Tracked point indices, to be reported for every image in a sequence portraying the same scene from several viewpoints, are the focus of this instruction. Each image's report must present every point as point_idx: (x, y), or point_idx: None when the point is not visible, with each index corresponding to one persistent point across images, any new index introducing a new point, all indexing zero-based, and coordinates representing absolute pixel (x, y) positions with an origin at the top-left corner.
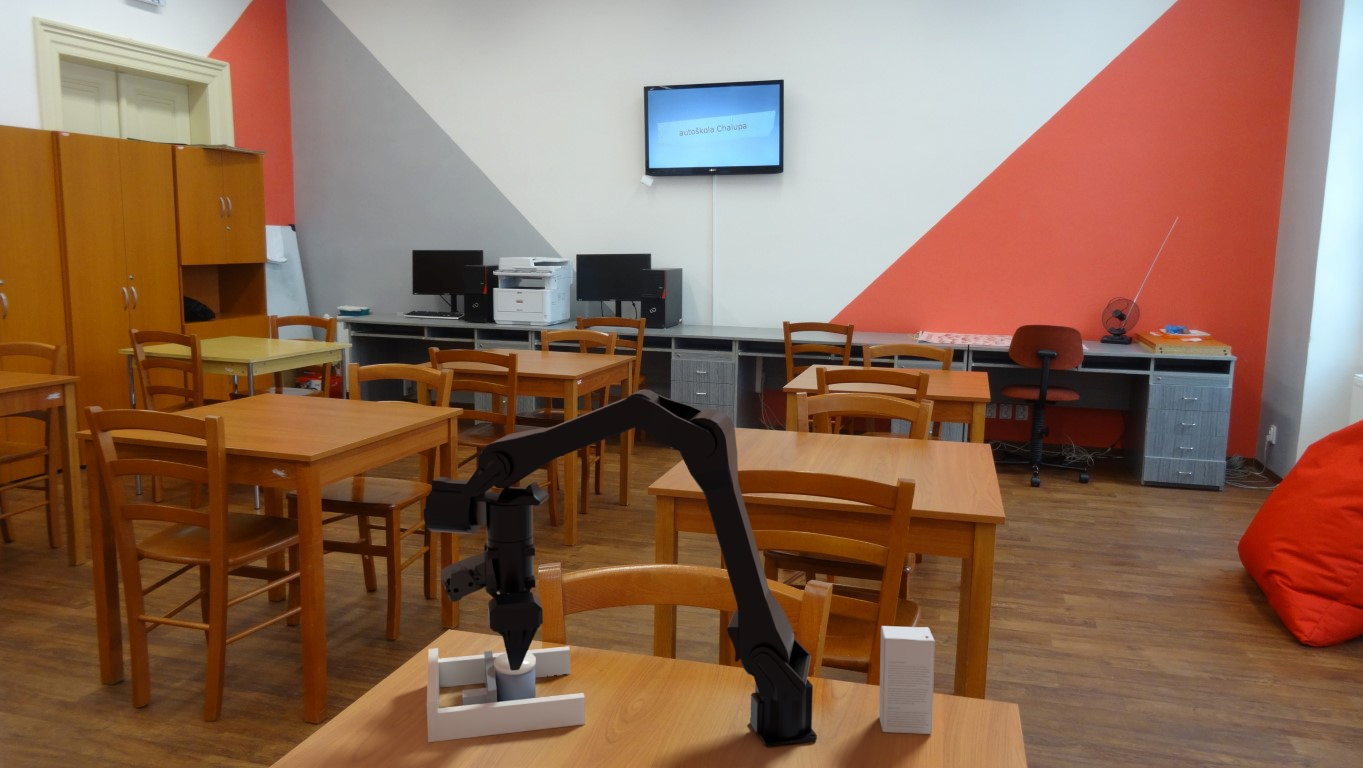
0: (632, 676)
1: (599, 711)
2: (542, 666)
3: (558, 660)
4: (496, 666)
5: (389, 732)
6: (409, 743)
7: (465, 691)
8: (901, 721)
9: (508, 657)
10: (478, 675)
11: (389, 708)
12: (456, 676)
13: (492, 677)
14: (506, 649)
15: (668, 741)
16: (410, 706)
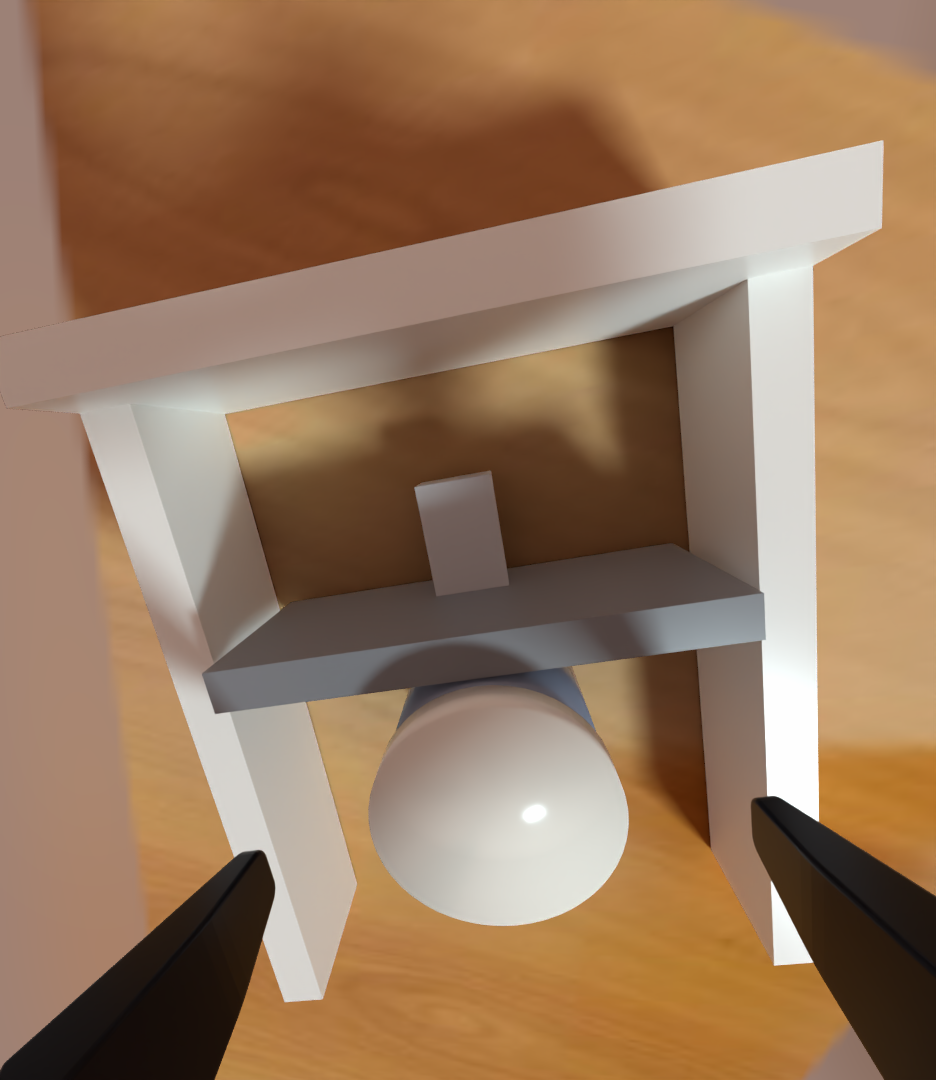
0: (656, 1022)
1: (412, 925)
2: (729, 793)
3: (743, 871)
4: (422, 721)
5: (245, 176)
6: (162, 299)
7: (477, 491)
8: None
9: (122, 961)
10: (704, 516)
11: (475, 105)
12: (701, 408)
13: (372, 678)
14: (10, 1063)
15: (239, 1064)
16: (489, 218)
